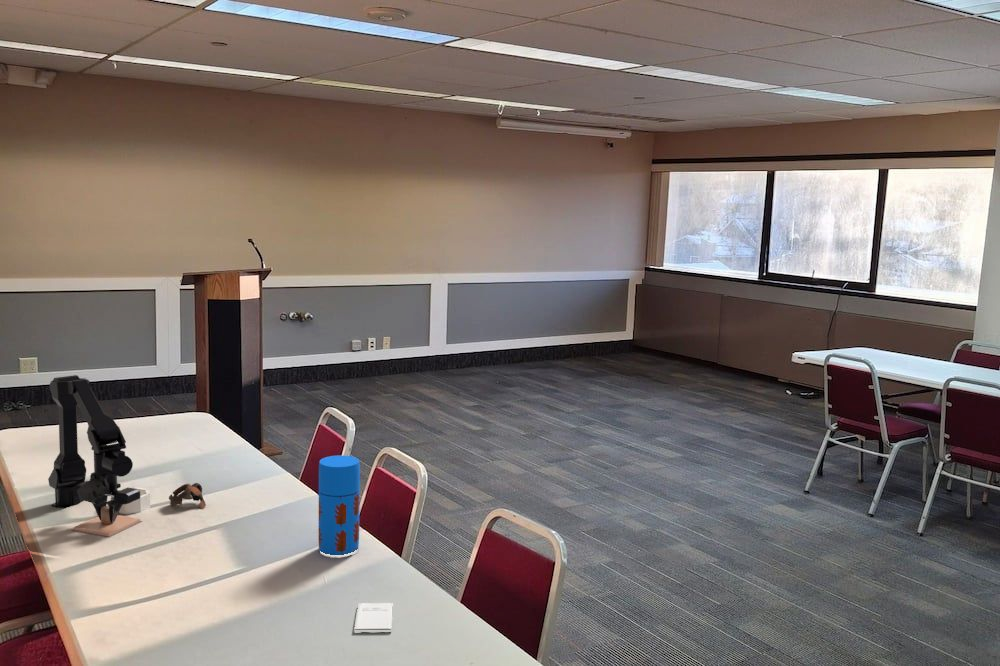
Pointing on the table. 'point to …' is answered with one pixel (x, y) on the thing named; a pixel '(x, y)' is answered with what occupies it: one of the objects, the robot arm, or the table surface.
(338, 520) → the thermos
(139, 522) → the mat
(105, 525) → the lid
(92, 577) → the table surface
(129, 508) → the bowl
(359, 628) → the external hard drive
